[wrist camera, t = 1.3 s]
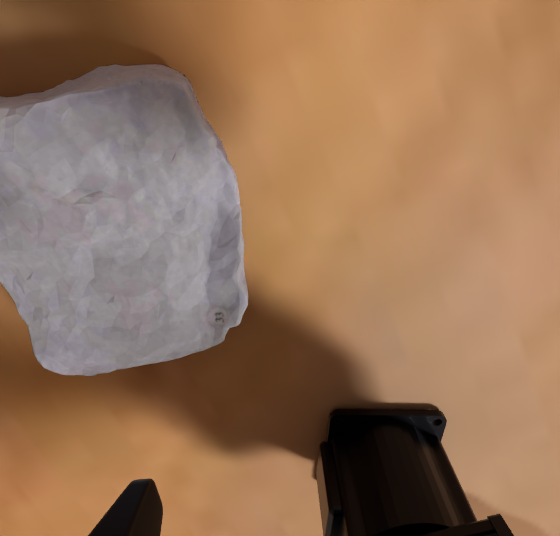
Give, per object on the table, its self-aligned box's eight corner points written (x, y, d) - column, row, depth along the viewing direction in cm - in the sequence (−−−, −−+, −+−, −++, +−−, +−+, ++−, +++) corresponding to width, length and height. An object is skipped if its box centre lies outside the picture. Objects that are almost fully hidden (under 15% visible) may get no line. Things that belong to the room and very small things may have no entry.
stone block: (191, 43, 16) (-64, 108, 15) (198, 33, 12) (-153, 120, 11) (262, 288, 22) (78, 347, 21) (283, 338, 18) (54, 416, 17)
